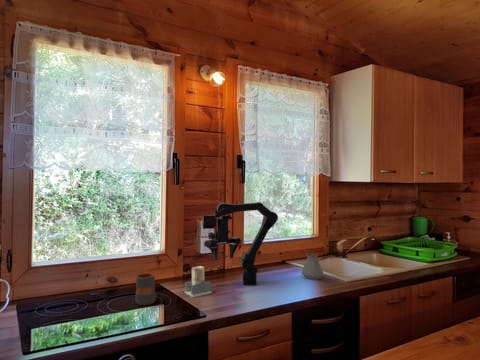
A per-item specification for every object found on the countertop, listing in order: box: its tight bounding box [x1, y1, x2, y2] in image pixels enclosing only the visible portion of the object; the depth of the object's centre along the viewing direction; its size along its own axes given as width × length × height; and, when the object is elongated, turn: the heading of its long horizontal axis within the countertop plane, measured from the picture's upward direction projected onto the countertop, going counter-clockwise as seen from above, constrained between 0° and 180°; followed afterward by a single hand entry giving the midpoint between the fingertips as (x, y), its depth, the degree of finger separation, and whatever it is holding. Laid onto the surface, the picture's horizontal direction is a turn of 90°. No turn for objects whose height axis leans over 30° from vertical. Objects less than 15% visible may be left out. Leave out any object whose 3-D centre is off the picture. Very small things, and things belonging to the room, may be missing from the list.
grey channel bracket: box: [184, 278, 213, 298], centre depth 177 cm, size 10×8×5 cm
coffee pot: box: [301, 252, 335, 281], centre depth 198 cm, size 21×12×15 cm, turn 29°
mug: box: [134, 273, 157, 306], centre depth 165 cm, size 9×12×12 cm
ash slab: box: [191, 265, 205, 285], centre depth 177 cm, size 5×3×11 cm, turn 125°
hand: (223, 259), depth 189 cm, fingers open, 9 cm apart
